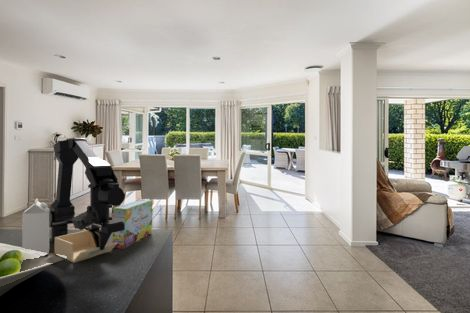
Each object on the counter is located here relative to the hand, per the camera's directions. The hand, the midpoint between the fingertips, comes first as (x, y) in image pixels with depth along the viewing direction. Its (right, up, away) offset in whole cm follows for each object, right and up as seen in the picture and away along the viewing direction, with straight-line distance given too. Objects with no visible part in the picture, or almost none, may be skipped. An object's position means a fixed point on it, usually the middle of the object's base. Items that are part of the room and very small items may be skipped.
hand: (100, 249), depth 100 cm
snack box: (+4, -3, +22) cm, 22 cm away
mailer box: (-9, -3, +6) cm, 11 cm away
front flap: (-4, -3, +3) cm, 6 cm away
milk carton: (-24, -3, +4) cm, 24 cm away
